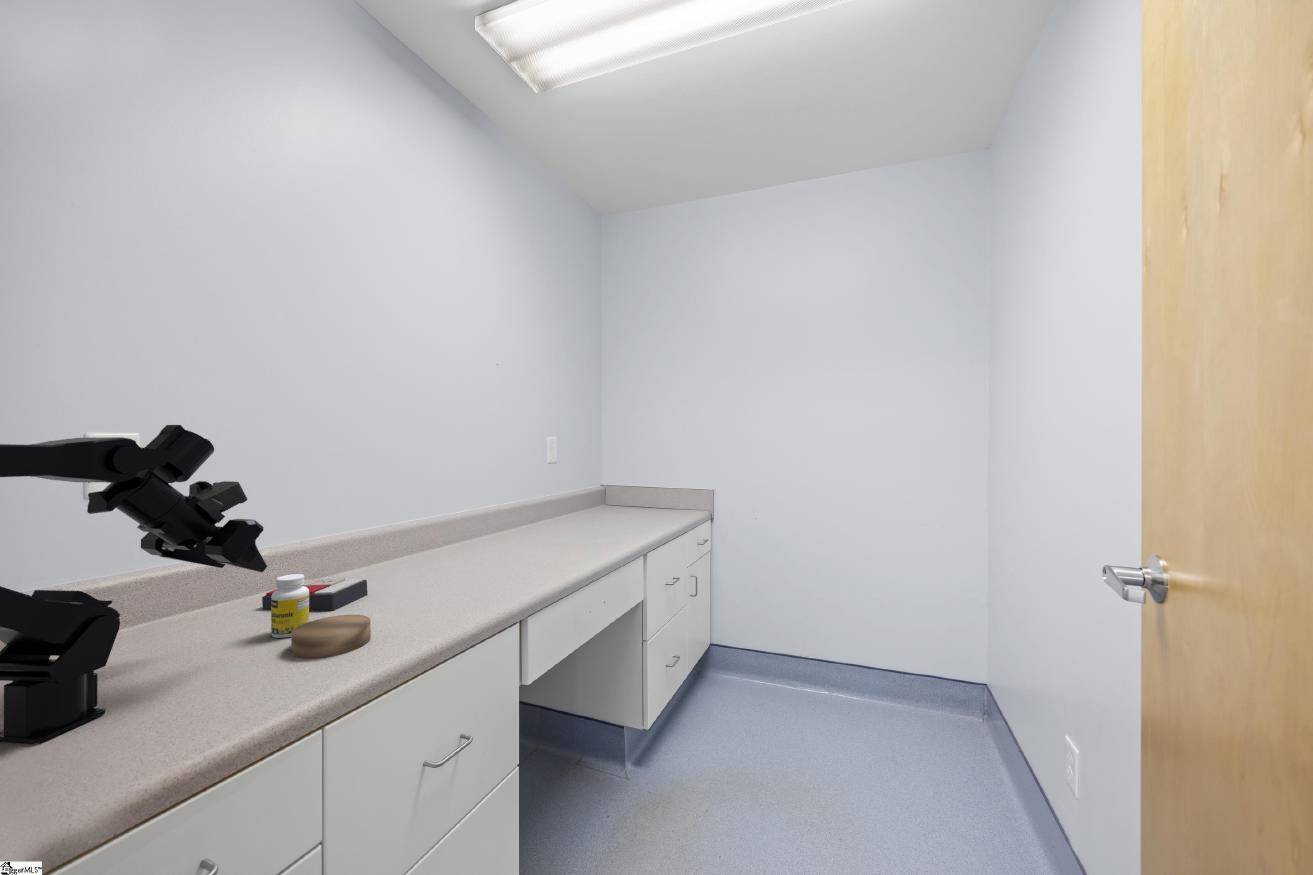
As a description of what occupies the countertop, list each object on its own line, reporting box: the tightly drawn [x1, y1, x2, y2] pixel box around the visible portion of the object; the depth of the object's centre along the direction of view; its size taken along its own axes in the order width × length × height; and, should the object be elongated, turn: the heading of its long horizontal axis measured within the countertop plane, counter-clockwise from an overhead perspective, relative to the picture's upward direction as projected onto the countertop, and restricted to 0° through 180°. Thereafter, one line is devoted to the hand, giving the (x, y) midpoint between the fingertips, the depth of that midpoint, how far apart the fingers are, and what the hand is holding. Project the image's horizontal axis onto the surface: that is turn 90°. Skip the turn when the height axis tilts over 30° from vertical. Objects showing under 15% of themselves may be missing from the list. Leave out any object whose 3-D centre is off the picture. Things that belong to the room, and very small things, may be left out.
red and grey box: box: [261, 578, 369, 612], centre depth 107 cm, size 11×4×15 cm
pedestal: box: [290, 614, 372, 659], centre depth 85 cm, size 11×11×3 cm
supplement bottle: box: [270, 573, 310, 639], centre depth 90 cm, size 5×5×10 cm
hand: (244, 567), depth 83 cm, fingers open, 9 cm apart
